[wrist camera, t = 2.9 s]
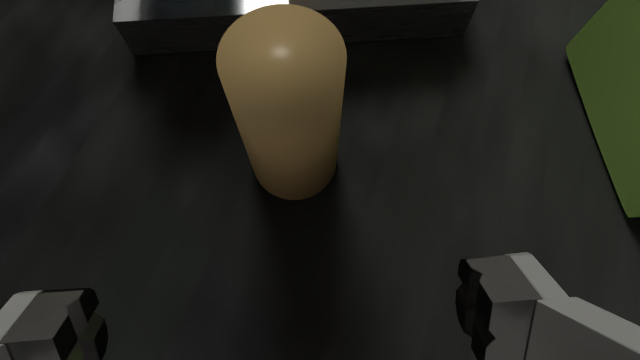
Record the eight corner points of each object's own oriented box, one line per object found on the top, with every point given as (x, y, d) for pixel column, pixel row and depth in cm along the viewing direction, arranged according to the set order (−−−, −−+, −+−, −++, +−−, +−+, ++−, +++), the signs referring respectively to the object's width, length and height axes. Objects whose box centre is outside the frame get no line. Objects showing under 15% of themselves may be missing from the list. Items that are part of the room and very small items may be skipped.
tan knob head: (332, 120, 26) (340, 0, 17) (340, 197, 24) (353, 109, 15) (251, 125, 25) (216, 7, 17) (253, 202, 24) (215, 118, 15)
